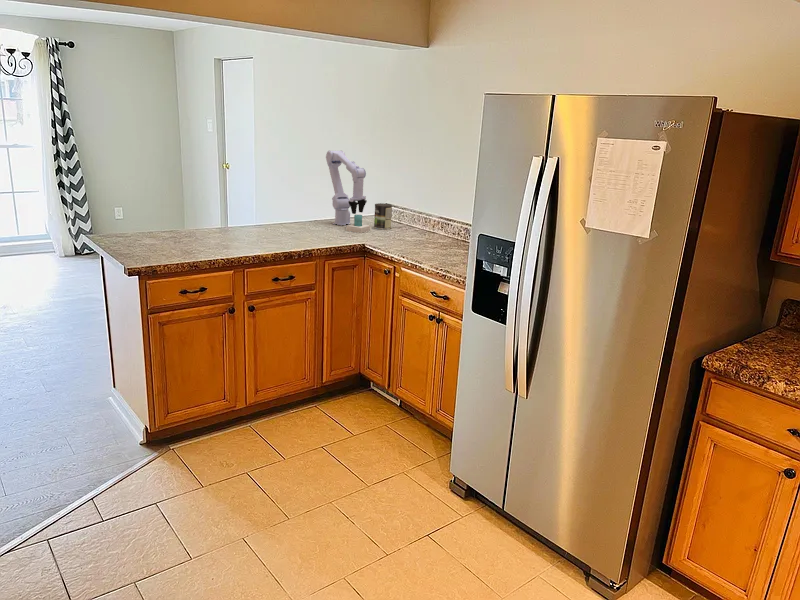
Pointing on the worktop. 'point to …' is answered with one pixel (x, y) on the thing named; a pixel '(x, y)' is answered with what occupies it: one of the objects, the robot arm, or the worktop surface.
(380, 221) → the coffee can
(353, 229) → the plinth
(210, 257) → the worktop surface
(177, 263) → the worktop surface
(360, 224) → the teal cylinder
